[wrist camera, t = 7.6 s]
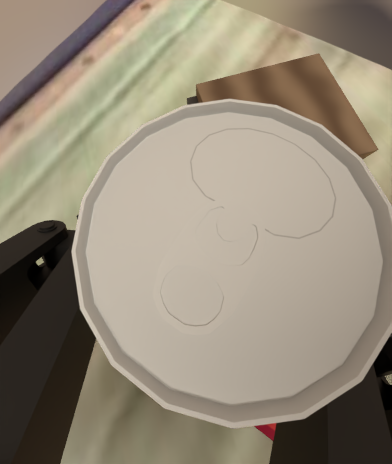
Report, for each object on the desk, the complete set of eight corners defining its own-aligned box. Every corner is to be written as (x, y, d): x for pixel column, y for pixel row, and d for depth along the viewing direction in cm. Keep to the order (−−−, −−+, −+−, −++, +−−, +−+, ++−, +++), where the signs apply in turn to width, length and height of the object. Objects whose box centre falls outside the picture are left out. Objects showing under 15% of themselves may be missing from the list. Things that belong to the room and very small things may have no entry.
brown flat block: (301, 83, 28) (318, 53, 24) (349, 167, 24) (378, 149, 20) (187, 112, 27) (186, 87, 23) (219, 204, 23) (223, 193, 19)
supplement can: (195, 211, 19) (175, 42, 4) (253, 246, 18) (485, 171, 3) (158, 267, 18) (-36, 288, 3) (219, 308, 17) (347, 623, 2)
